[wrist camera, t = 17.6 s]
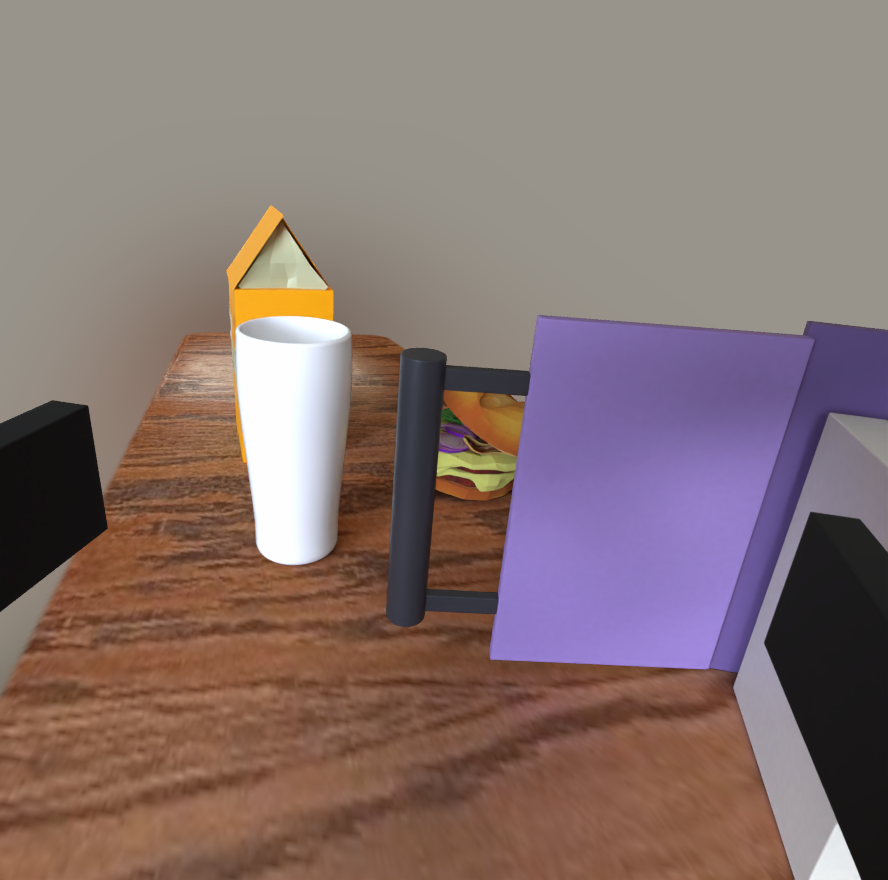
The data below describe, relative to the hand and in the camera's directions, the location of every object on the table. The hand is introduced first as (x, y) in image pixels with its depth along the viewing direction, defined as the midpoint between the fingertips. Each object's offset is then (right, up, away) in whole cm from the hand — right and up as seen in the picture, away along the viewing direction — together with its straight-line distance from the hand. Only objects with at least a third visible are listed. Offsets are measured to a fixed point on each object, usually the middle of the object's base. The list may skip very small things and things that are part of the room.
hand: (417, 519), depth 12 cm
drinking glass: (-9, -6, +31) cm, 33 cm away
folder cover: (+6, -10, +23) cm, 26 cm away
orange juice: (-14, +1, +47) cm, 49 cm away
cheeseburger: (+3, -2, +43) cm, 43 cm away
